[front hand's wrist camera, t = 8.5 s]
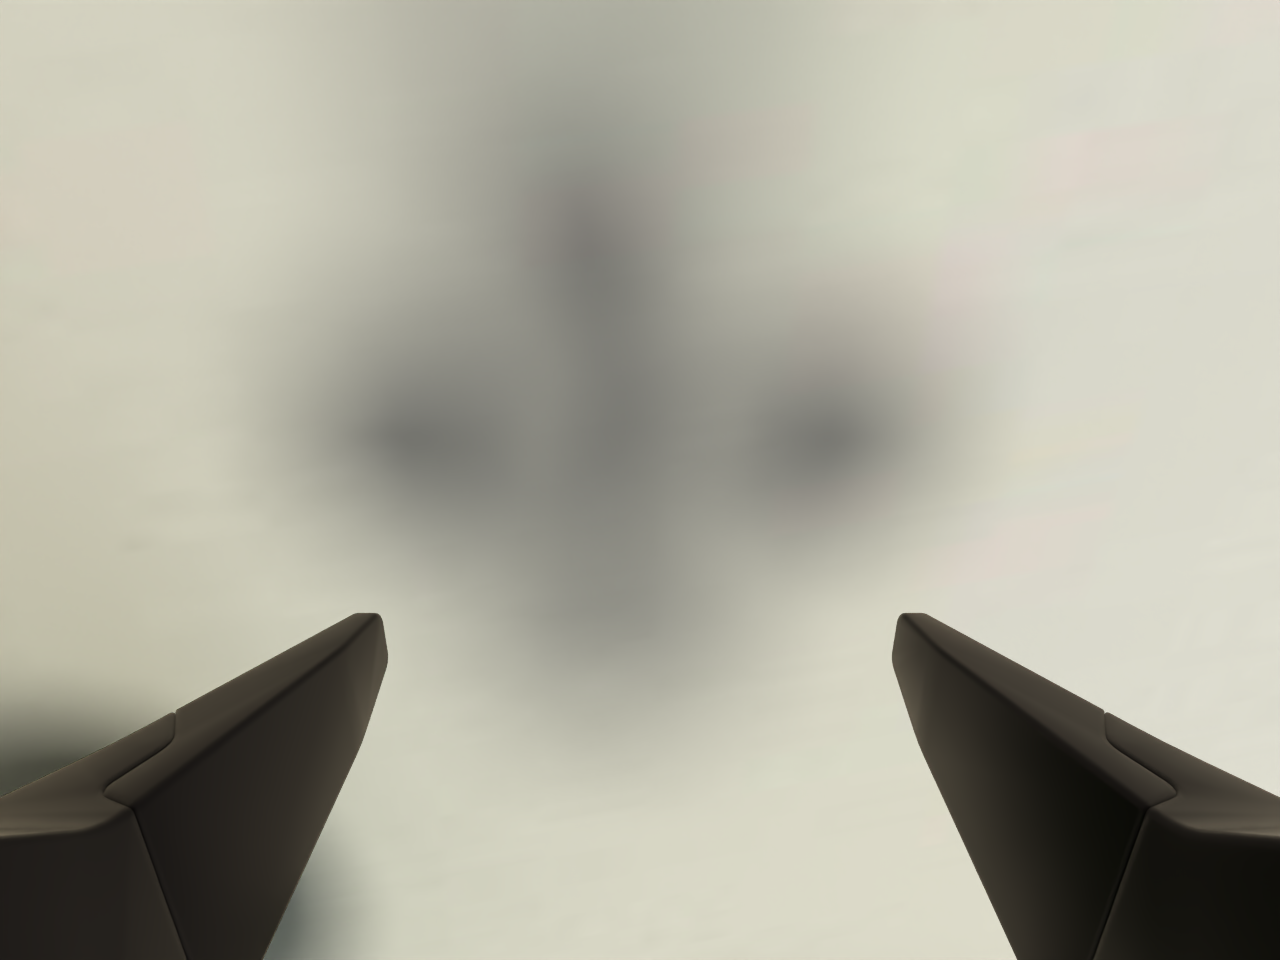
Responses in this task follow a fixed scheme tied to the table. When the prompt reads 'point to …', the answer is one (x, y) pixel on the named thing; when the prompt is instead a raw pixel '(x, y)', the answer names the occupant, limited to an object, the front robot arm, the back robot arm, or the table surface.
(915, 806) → the table surface
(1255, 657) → the table surface
